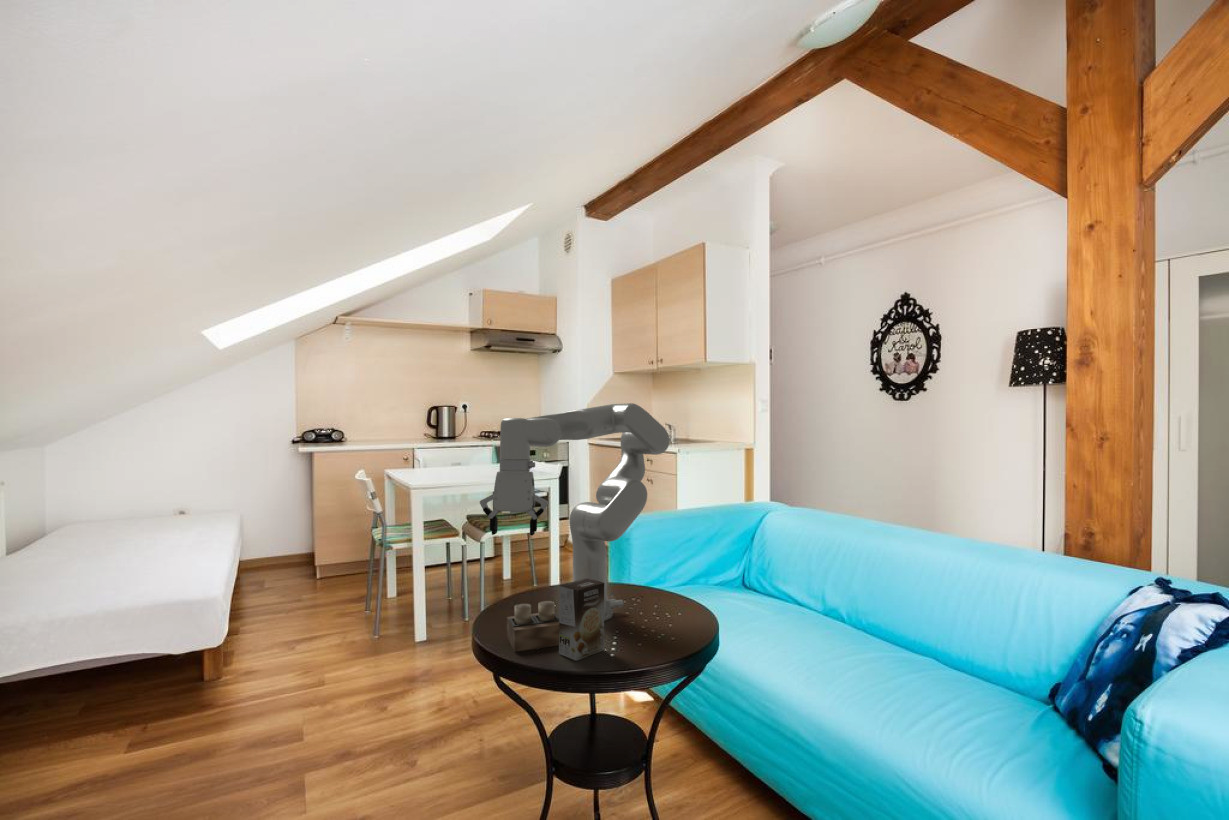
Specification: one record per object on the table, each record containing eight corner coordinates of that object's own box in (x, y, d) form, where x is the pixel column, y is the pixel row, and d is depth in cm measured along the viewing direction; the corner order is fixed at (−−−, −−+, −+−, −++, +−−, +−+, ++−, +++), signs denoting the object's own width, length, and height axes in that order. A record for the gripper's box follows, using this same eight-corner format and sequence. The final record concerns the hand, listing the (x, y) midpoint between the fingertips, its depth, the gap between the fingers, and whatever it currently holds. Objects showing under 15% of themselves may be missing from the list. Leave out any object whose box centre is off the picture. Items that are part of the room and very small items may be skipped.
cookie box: (576, 662, 128) (576, 590, 128) (558, 654, 132) (558, 585, 133) (605, 650, 135) (604, 582, 135) (586, 643, 139) (586, 577, 139)
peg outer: (529, 621, 142) (528, 603, 142) (532, 626, 139) (532, 607, 139) (513, 623, 141) (513, 604, 141) (516, 628, 137) (516, 609, 137)
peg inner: (552, 618, 144) (552, 600, 145) (556, 623, 141) (556, 604, 141) (536, 620, 143) (536, 602, 143) (540, 625, 139) (540, 606, 139)
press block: (553, 630, 147) (553, 610, 148) (563, 644, 138) (563, 622, 138) (506, 637, 143) (506, 615, 143) (514, 651, 134) (514, 629, 134)
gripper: (550, 466, 148) (549, 532, 147) (484, 465, 148) (483, 531, 147) (546, 467, 140) (545, 537, 139) (476, 466, 141) (475, 536, 140)
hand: (513, 534), depth 143 cm, fingers open, 9 cm apart
